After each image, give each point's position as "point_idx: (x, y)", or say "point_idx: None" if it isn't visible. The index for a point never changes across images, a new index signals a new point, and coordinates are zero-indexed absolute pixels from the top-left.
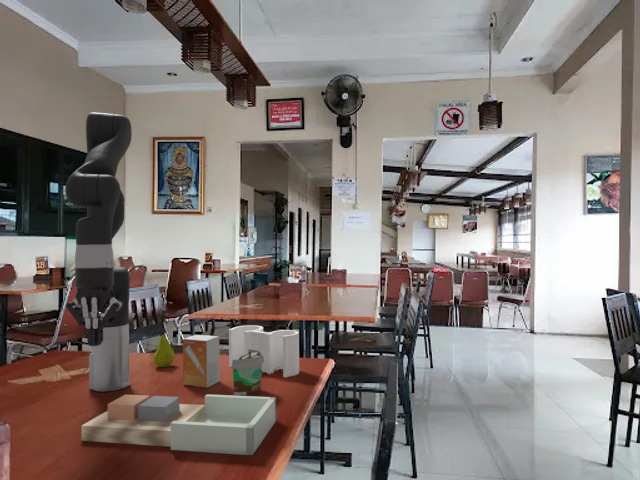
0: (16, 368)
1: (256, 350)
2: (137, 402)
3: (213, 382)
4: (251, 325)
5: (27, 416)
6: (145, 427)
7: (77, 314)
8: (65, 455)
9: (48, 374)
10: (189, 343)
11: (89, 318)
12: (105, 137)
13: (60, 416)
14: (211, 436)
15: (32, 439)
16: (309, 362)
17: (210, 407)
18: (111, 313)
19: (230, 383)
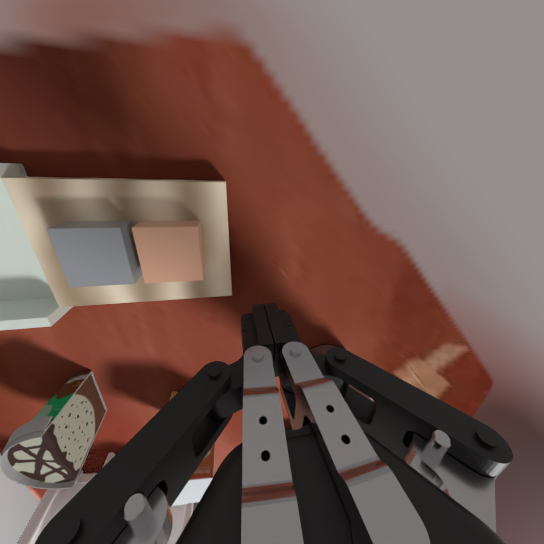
0: (478, 380)
1: (47, 488)
2: (139, 245)
3: None
4: None
5: (373, 252)
6: (84, 188)
7: (381, 392)
8: (209, 119)
9: (429, 375)
10: (196, 469)
11: (298, 384)
12: None
13: (325, 260)
14: None
15: (311, 175)
16: None
17: (49, 305)
18: (132, 443)
19: (146, 412)
